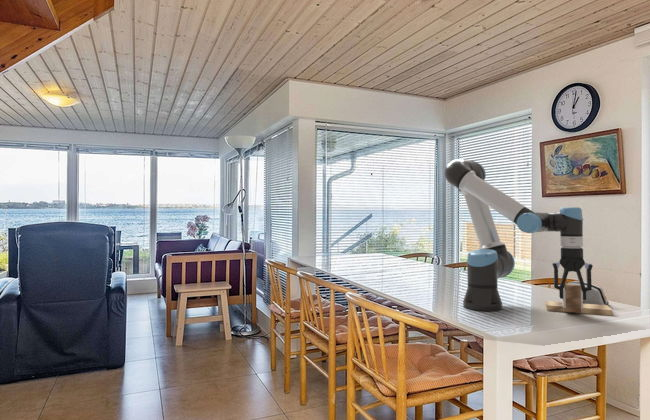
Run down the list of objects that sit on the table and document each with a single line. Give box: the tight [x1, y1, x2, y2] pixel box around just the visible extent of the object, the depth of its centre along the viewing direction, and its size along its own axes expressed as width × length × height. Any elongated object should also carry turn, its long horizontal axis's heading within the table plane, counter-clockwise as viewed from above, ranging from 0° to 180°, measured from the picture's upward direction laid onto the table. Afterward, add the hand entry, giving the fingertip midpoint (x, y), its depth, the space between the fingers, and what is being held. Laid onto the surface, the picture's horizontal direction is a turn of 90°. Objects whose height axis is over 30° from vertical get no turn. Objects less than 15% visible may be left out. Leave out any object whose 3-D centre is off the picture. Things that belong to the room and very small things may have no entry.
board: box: [544, 300, 613, 316], centre depth 170 cm, size 22×9×2 cm, turn 67°
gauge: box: [563, 283, 582, 314], centre depth 170 cm, size 5×15×10 cm, turn 157°
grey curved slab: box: [566, 280, 610, 306], centre depth 185 cm, size 17×5×10 cm, turn 27°
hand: (572, 307), depth 165 cm, fingers closed on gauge, 5 cm apart
